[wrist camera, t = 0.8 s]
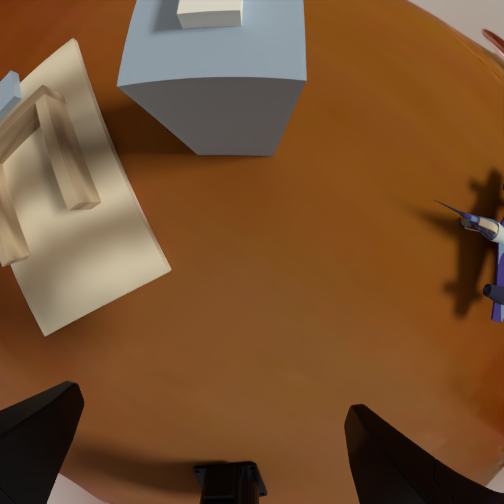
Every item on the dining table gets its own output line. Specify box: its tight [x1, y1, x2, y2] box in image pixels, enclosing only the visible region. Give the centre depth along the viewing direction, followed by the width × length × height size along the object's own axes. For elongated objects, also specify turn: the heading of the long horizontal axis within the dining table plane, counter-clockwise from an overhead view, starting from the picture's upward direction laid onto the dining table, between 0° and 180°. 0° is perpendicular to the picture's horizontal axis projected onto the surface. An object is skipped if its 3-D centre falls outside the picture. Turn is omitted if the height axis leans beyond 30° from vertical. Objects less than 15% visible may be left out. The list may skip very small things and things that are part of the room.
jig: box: [0, 39, 172, 336], centre depth 17 cm, size 22×14×4 cm, turn 26°
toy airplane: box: [435, 184, 504, 323], centre depth 18 cm, size 13×14×4 cm
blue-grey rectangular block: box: [117, 0, 306, 156], centre depth 12 cm, size 5×5×13 cm
